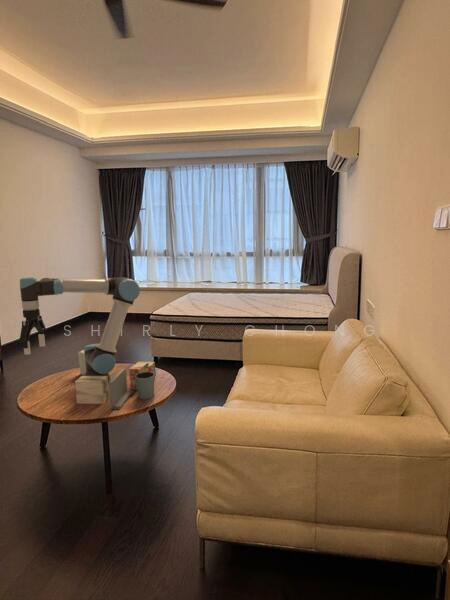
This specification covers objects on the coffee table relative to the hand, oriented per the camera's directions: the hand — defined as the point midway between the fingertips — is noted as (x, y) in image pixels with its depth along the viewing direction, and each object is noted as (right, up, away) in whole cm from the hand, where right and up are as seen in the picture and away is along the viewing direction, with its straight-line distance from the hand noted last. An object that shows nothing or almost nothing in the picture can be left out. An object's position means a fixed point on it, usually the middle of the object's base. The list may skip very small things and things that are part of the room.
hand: (35, 350), depth 195 cm
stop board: (+42, -27, +7) cm, 51 cm away
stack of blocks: (+48, -23, +31) cm, 62 cm away
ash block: (+27, -27, +8) cm, 39 cm away
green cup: (+54, -26, +12) cm, 61 cm away
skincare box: (+10, -21, +48) cm, 53 cm away
